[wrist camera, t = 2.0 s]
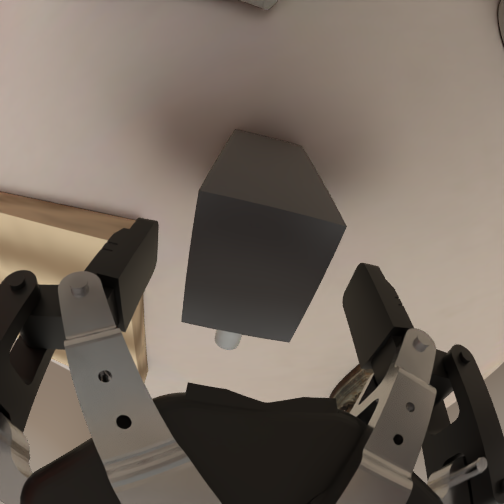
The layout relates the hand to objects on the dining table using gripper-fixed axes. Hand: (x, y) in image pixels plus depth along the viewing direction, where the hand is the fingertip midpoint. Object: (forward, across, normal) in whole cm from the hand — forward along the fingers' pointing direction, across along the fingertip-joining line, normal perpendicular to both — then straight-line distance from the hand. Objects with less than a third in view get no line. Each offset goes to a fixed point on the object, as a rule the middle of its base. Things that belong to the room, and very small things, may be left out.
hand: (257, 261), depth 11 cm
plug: (+8, 0, +1) cm, 8 cm away
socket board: (+8, +17, +14) cm, 23 cm away
